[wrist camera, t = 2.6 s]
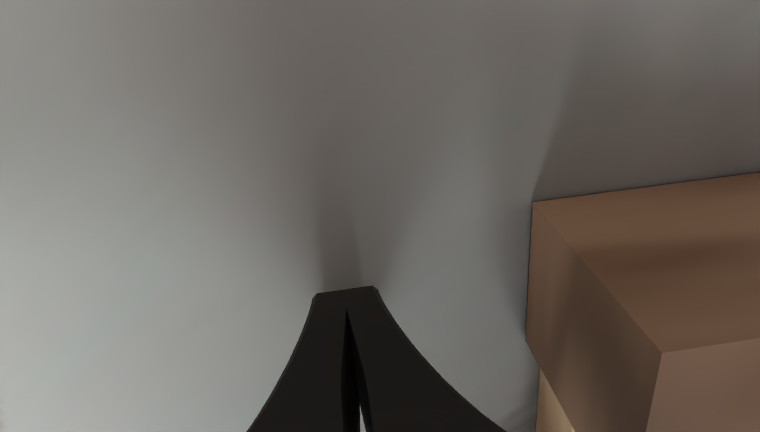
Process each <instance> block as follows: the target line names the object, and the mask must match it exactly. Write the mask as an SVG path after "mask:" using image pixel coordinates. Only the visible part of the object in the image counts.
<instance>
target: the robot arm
mask: <svg viewBox="0 0 760 432" xmlns="http://www.w3.org/2000/svg"><path fill="white" fill-rule="evenodd" d="M360 406H361V411H362V415H363V420H364V424H365V429H366V432H506V431H505V430H503V429H502V428H501V427H499V426H498V425H497V424H495V423H494V422H493V421H491V420H490V419H489V418H487V417H486V416H485V415H483V414H482V413H481V412H480V411H479V410H477V409H476V408H475V407H474V406H473V405H472V404H470V403H469V402H468V401H467V400H466V399H465V398H463V397H462V396H461V395H460V394H459V393H458V392H457V391H456V390H455V389H454V388H453V387H452V386H451V385H449V384H448V383H447V382H446V381H445V380H444V379H443V378H442V377H441V376H440V374H439V373H438V372H437V371H436V370H435V369H434V368H433V367H432V366H431V365H430V364H429V363H428V362H427V360H426V359H425V358H424V357H423V356H422V355H421V354H420V352H419V351H418V350H417V349H416V348H415V346H414V345H413V344H412V343H411V341H410V340H409V339H408V337H407V336H406V335H405V334H404V332H403V331H402V330H401V328H400V327H399V325H398V324H397V323H396V321H395V320H394V318H393V317H392V315H391V314H390V312H389V311H388V309H387V307H386V306H385V304H384V302H383V300H382V298H381V296H380V294H379V292H378V289H376V288H375V287H373V286H366V287H359V288H352V289H345V290H338V291H331V292H324V293H317V294H316V295H315V296H314V297H313V299H312V303H311V307H310V311H309V314H308V317H307V320H306V322H305V325H304V328H303V330H302V333H301V335H300V337H299V340H298V342H297V344H296V346H295V349H294V351H293V353H292V355H291V357H290V359H289V362H288V364H287V365H286V367H285V369H284V371H283V373H282V375H281V377H280V378H279V380H278V382H277V384H276V386H275V388H274V390H273V391H272V393H271V395H270V396H269V398H268V400H267V401H266V403H265V405H264V406H263V408H262V409H261V411H260V413H259V414H258V416H257V417H256V419H255V420H254V422H253V423H252V425H251V426H250V428H249V429H248V430H247V432H360Z"/></svg>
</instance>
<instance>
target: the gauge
mask: <svg viewBox="0 0 760 432" xmlns="http://www.w3.org/2000/svg"><path fill="white" fill-rule="evenodd" d="M525 341H526V342H527V344H528V346H529V348H530V350H531V352H532V353H533V355H534V357H535V359H536V361H537V363H538V364H539V366H540V368H541V370H542V372H543V374H544V375H545V377H546V379H547V381H548V383H549V385H550V387H551V388H552V390H553V392H554V394H555V396H556V398H557V399H558V401H559V403H560V405H561V407H562V409H563V410H564V412H565V414H566V416H567V418H568V420H569V421H570V423H571V425H572V427H573V429H574V431H575V432H760V172H759V173H752V174H744V175H736V176H729V177H721V178H713V179H706V180H698V181H691V182H683V183H675V184H668V185H660V186H652V187H645V188H637V189H629V190H622V191H614V192H607V193H599V194H591V195H584V196H576V197H568V198H561V199H553V200H546V201H538V202H533V208H532V227H531V245H530V264H529V283H528V301H527V320H526V339H525Z"/></svg>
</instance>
